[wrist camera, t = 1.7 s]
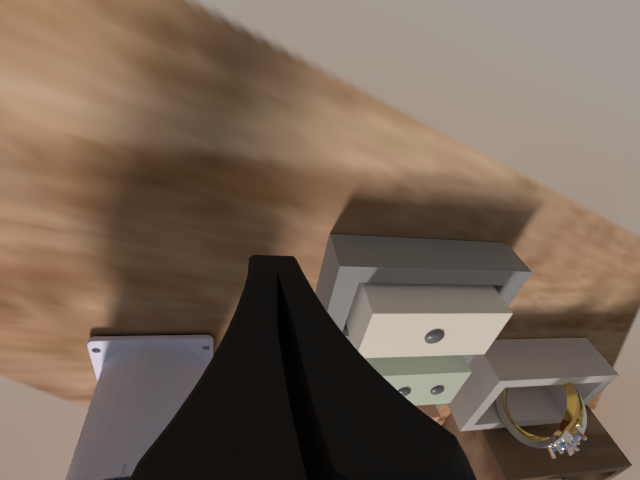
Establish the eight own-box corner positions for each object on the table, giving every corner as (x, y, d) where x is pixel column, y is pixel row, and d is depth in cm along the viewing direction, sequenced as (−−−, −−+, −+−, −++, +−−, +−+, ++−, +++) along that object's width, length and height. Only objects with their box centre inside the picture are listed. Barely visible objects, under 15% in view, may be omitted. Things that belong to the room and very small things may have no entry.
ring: (539, 341, 34) (604, 429, 28) (552, 353, 36) (617, 438, 30) (475, 380, 37) (522, 468, 31) (490, 389, 39) (538, 474, 32)
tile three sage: (434, 368, 31) (450, 404, 28) (327, 372, 29) (335, 412, 26) (453, 337, 28) (472, 373, 26) (338, 339, 26) (348, 378, 24)
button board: (415, 395, 37) (426, 426, 35) (288, 403, 34) (292, 436, 32) (505, 242, 26) (531, 271, 24) (329, 233, 23) (339, 266, 21)
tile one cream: (463, 319, 27) (484, 355, 25) (345, 320, 25) (356, 359, 23) (487, 279, 25) (514, 314, 23) (359, 275, 23) (373, 315, 20)
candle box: (514, 447, 50) (552, 518, 44) (419, 457, 47) (446, 535, 41) (574, 388, 42) (632, 465, 36) (464, 395, 39) (506, 481, 33)
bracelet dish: (542, 385, 40) (566, 422, 37) (441, 391, 38) (459, 431, 34) (586, 337, 36) (619, 374, 33) (475, 339, 33) (499, 381, 30)
